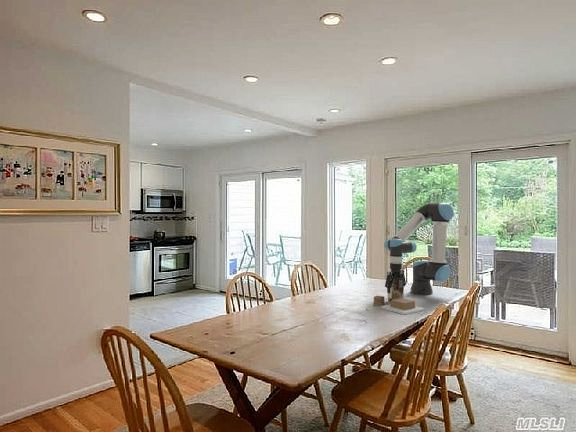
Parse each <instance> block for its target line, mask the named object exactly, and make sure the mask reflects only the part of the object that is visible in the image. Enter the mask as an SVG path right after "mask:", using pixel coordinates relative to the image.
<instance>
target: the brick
mask: <svg viewBox="0 0 576 432" xmlns="http://www.w3.org/2000/svg"><path fill="white" fill-rule="evenodd" d="M373 305H375V306H379V305H380V306H379V307H381V306H384V305H385V296H382V295H375V296H373Z"/></svg>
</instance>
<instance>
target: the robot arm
mask: <svg viewBox="0 0 576 432" xmlns="http://www.w3.org/2000/svg"><path fill="white" fill-rule="evenodd" d="M454 214H455V213H454V209H453V207H452V205H451V204H450V203H448V202H427V203H426V204H423V205H422V206H420V207H419V208H418V209H417V210H416V211H415V212H414V213H413V216H412V217H411V218H410V219H409V220H408V221H407V222H406V223H405V224H404V225H403V226H402V227H401V228H400V229H399V231H398V232H396V234H395V235H394V236H393V237H392V238H391V239H390V238H389V239H386V240H385V241H384V244H383V245H384V248H385V250H386V251H389V262H390V263H389V269H390V271H387V272H386V279H385V283H384V288H386V292H387V299H388V298H390V299H392V288H391V286H392V284H393V281H394V279H395V278H396V277H402V278H403V279H404V282H403V292H404V287H406V285H407V281H406V276H405V270H402V269H403V264H402V263H403V254H411V253H415V252H416V251H417V247H418V246H417V243H416V242H415V241H411V240H408V239H409V237H410V236H411V235H412V234H413V233H414V232H415V231H416V230H417V229H418V227H420V226H421V224H424V223H425V222H427V221H429V220H431V221H430V222H431V223H432V226H433V227H432V246H431V259H430V260H416V261H414V262H413V266H412V268H413V269H412V277H413V278H412V280H413V281H412V284H411V286H410V292H411V293H412V294H414V295H422V296H423V295H424V296H427V295H433V292H434V291H433V288H432V284H431V281H435V282H438V283H439V282H440V283H441V282H442V283H444V282H447V280H448V279H449V278H450V277H451V271H452V270H451V268H450V266H449V265H448V261H447V260H446V247H447V245H446V244H447V227H448V224H450V220H452V219H453V217H454ZM407 240H408V241H407ZM391 278H392V280H391ZM390 280H391V281H390Z"/></svg>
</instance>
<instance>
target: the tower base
mask: <svg viewBox="0 0 576 432" xmlns="http://www.w3.org/2000/svg"><path fill="white" fill-rule="evenodd" d="M380 308H381V309H383V310H387V311H390V312H394V313H398V314H402V315H405V316H406V315H410V314H414V313H420V312H423V311H424V312H425V311H426V308H425V307H422V306H421V307H420V306H417V305H416V301H415V300H412V299H408V298H399V299H393V300H391V303H389V304H384V305H382V306H380Z"/></svg>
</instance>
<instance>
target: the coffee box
mask: <svg viewBox="0 0 576 432" xmlns="http://www.w3.org/2000/svg"><path fill="white" fill-rule="evenodd" d="M391 280H392V278H391ZM391 280H390V281H391ZM403 282H404V279H403V278H402V277H396V278H395V279H394V281H393V284H392V286H391V288H392V299H390V298H388V297H387V303H389V304H391V300H393V299H399V298H404V291H403ZM404 299H405V298H404Z"/></svg>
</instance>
